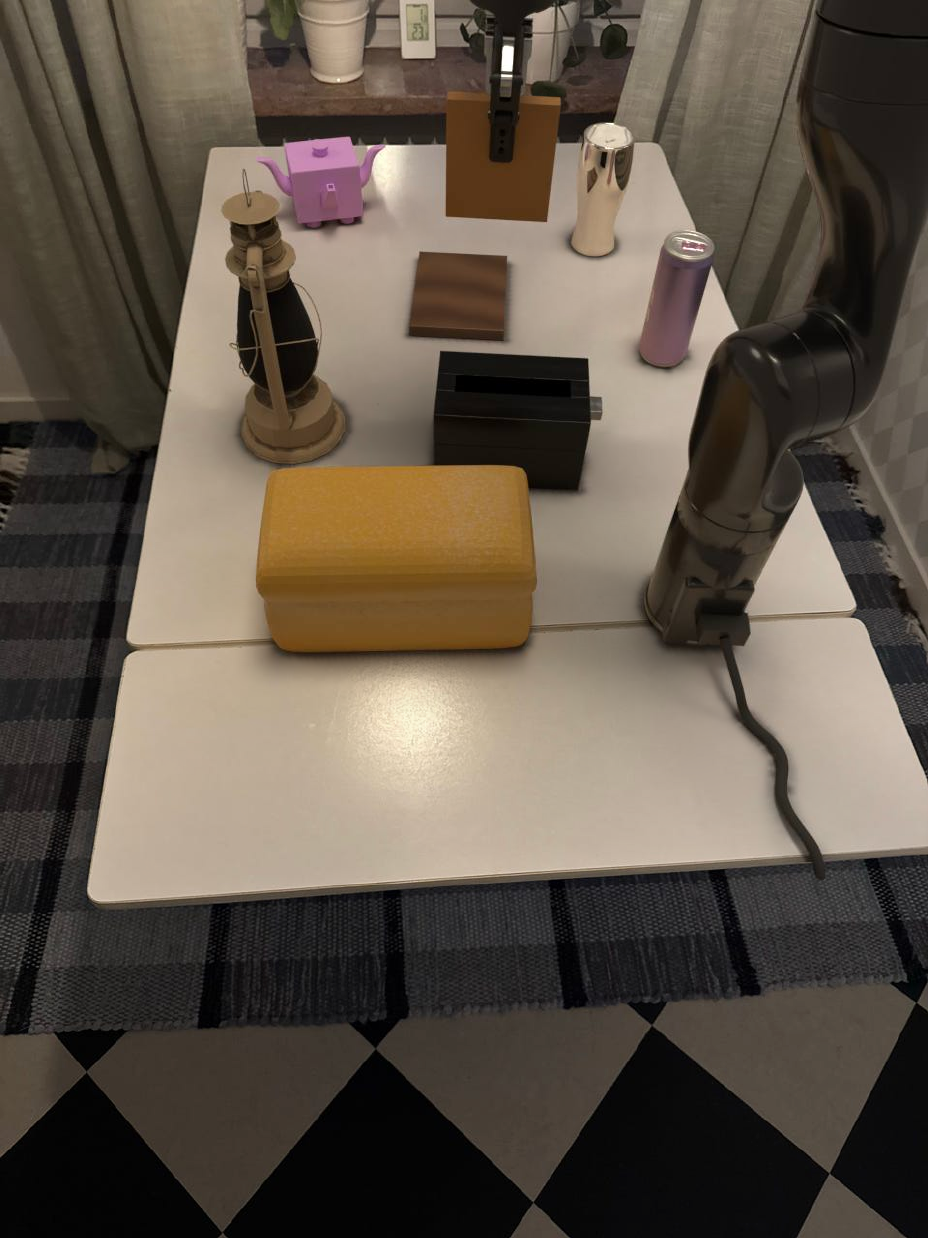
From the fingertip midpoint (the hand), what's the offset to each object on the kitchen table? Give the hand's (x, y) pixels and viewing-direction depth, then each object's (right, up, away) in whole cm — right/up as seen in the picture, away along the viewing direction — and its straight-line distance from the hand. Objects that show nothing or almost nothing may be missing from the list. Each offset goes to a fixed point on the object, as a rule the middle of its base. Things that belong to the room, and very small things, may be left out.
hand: (501, 153), depth 79 cm
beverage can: (+21, -10, +29) cm, 37 cm away
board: (-4, -1, +34) cm, 34 cm away
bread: (-10, -41, +7) cm, 43 cm away
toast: (0, -3, +5) cm, 6 cm away
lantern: (-23, -21, +20) cm, 37 cm away
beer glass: (+15, +10, +42) cm, 45 cm away
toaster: (+1, -24, +18) cm, 30 cm away
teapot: (-23, +15, +44) cm, 52 cm away
